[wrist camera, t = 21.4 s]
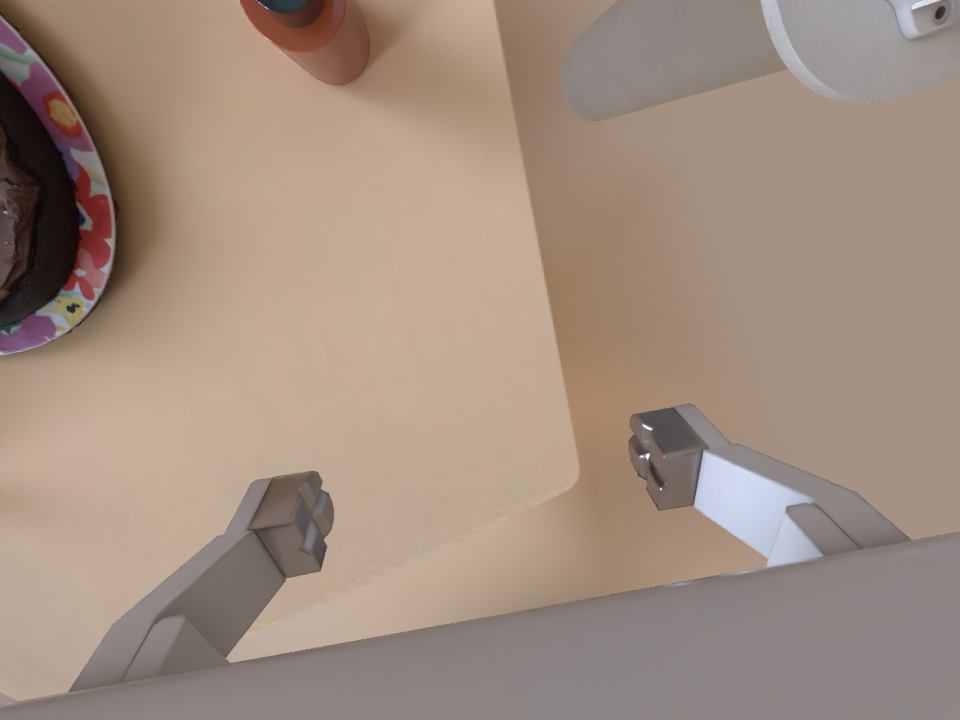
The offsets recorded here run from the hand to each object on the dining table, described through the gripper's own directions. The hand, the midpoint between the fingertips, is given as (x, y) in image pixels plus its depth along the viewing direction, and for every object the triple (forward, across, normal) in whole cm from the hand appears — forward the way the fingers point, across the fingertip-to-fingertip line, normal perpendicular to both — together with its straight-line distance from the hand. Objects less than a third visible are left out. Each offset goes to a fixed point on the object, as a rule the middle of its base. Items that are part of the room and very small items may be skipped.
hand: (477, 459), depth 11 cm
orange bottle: (+28, +6, -14) cm, 32 cm away
